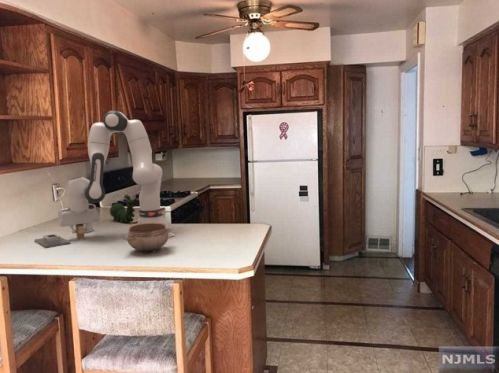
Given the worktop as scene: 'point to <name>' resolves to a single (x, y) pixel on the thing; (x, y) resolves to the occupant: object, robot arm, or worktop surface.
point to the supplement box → (90, 227)
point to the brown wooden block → (80, 231)
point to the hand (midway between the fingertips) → (80, 232)
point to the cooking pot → (147, 236)
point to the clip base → (51, 241)
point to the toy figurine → (123, 211)
